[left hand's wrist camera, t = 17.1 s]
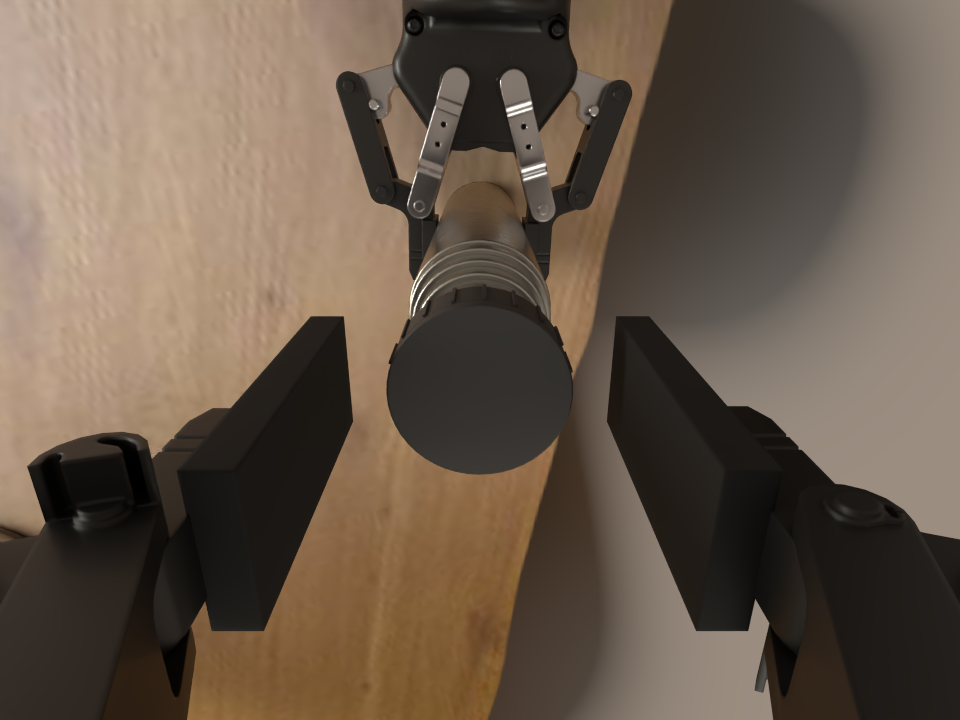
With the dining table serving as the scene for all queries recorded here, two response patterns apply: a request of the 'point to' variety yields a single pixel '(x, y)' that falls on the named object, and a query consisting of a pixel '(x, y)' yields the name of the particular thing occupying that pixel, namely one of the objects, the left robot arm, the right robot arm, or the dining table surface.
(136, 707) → the left robot arm
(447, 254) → the bottle
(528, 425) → the cap
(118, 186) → the dining table surface
